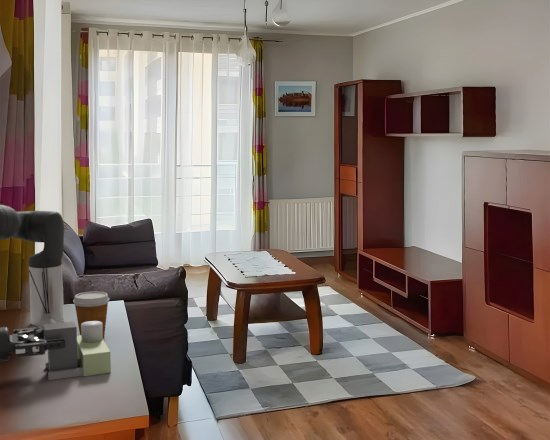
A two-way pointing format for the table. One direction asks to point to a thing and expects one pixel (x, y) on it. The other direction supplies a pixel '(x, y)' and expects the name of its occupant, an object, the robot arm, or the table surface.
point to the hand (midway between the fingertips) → (63, 337)
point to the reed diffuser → (47, 315)
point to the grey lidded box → (64, 356)
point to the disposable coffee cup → (91, 307)
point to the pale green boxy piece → (88, 353)
